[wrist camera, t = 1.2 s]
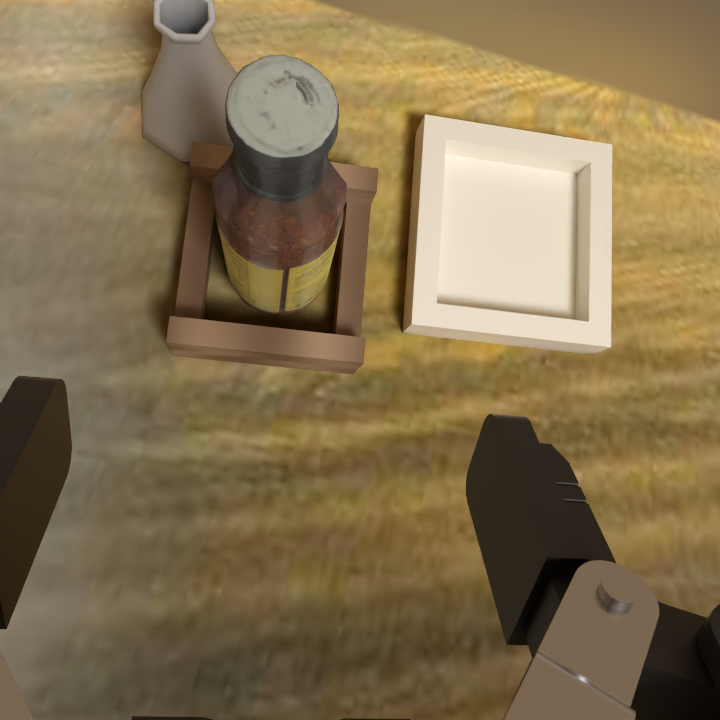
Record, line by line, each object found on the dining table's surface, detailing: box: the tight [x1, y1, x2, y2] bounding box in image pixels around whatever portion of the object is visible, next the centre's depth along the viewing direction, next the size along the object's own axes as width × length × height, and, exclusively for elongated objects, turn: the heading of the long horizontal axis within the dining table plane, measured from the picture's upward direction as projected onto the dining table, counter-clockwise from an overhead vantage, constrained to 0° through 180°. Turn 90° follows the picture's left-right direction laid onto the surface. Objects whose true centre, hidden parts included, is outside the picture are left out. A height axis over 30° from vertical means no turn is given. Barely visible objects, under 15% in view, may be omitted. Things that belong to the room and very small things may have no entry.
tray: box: [402, 114, 612, 354], centre depth 45 cm, size 13×14×2 cm
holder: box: [166, 141, 378, 374], centre depth 41 cm, size 11×12×4 cm
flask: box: [141, 0, 238, 162], centre depth 40 cm, size 7×7×10 cm
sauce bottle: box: [212, 55, 347, 315], centre depth 34 cm, size 6×6×20 cm
